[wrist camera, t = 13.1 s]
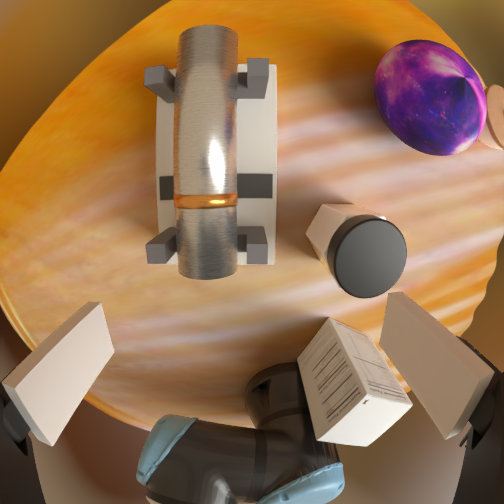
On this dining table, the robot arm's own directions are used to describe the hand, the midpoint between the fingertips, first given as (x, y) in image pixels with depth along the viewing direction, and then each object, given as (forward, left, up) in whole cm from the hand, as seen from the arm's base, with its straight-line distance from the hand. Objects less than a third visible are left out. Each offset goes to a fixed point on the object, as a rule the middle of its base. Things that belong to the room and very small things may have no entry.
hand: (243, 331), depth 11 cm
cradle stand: (+8, +4, -25) cm, 26 cm away
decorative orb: (+18, -22, -25) cm, 38 cm away
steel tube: (+9, +4, -16) cm, 19 cm away
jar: (-1, -12, -25) cm, 28 cm away
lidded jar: (+20, -39, -25) cm, 50 cm away
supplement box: (-20, -14, -25) cm, 35 cm away
